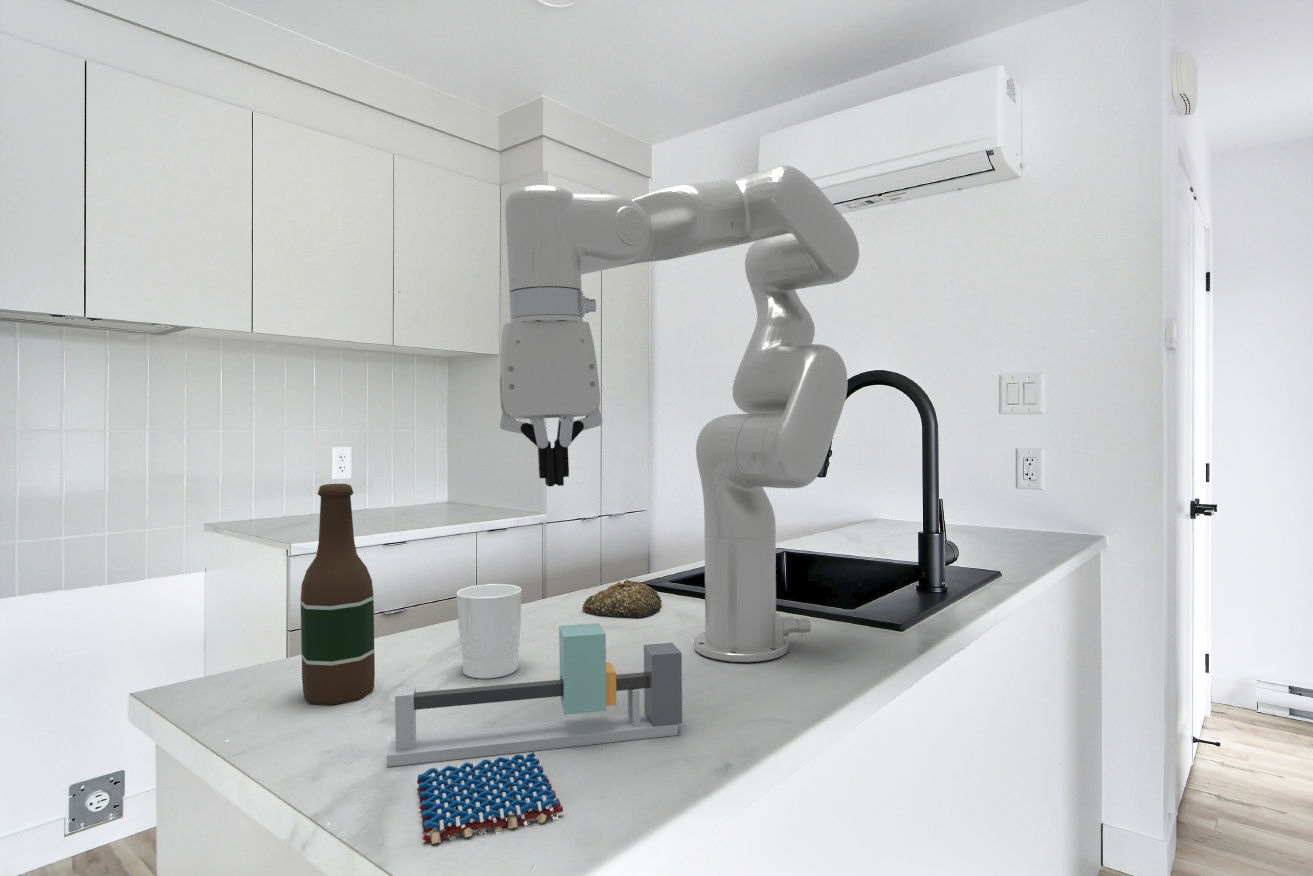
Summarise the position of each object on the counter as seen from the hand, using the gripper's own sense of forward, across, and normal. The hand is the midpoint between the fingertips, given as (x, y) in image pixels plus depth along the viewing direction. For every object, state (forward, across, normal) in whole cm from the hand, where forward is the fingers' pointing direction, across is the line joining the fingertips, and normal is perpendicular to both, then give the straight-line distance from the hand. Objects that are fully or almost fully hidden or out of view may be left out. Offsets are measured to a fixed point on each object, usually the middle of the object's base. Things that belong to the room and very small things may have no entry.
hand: (554, 484), depth 80 cm
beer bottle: (+24, +24, -12) cm, 36 cm away
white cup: (+24, +7, -16) cm, 30 cm away
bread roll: (+26, -16, -42) cm, 52 cm away
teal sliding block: (+21, -1, +8) cm, 22 cm away
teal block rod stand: (+24, +4, +8) cm, 25 cm away
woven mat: (+24, +9, +18) cm, 32 cm away
